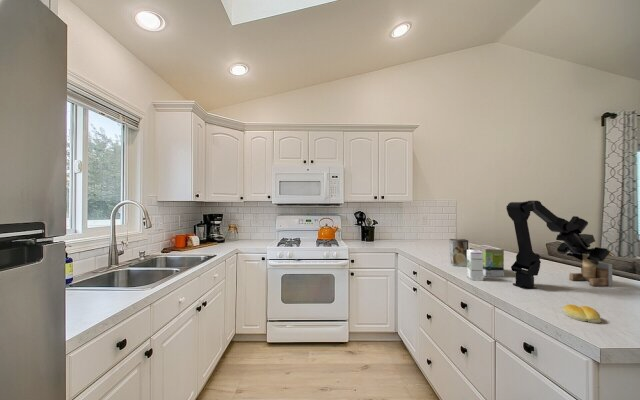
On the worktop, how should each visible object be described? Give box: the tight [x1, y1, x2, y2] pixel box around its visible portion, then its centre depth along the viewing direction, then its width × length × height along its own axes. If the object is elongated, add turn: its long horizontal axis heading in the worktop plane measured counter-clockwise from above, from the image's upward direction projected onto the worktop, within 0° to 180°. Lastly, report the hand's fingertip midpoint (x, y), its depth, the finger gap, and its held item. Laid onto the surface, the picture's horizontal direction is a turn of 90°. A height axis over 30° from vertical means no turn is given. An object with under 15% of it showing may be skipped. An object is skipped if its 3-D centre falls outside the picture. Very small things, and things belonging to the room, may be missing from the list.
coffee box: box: [449, 238, 470, 267], centre depth 158 cm, size 9×6×16 cm
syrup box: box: [466, 249, 484, 282], centre depth 130 cm, size 6×6×14 cm
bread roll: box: [562, 304, 602, 324], centre depth 86 cm, size 8×9×4 cm
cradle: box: [568, 264, 609, 287], centre depth 123 cm, size 9×10×7 cm
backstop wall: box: [596, 261, 613, 287], centre depth 124 cm, size 2×10×10 cm, turn 7°
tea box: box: [469, 244, 505, 278], centre depth 140 cm, size 15×10×15 cm
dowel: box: [582, 254, 596, 278], centre depth 123 cm, size 4×4×11 cm
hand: (591, 262), depth 123 cm, fingers closed on dowel, 4 cm apart
